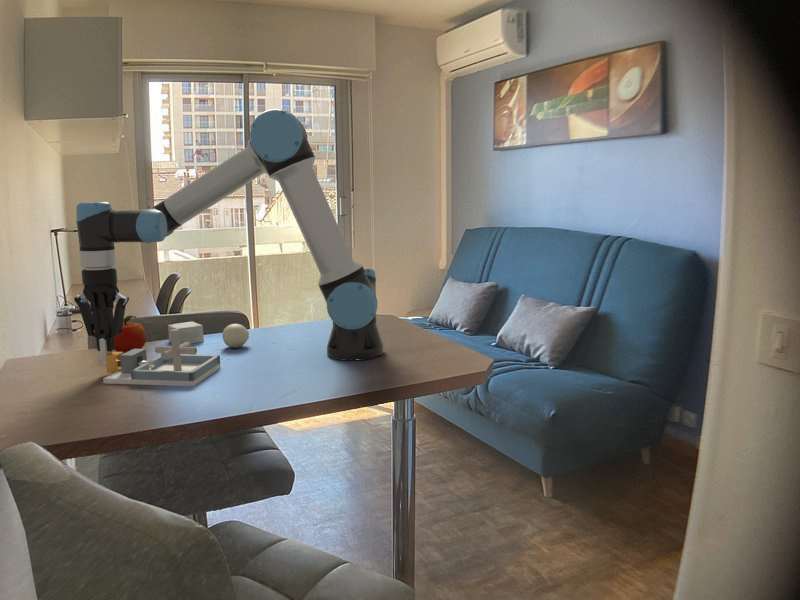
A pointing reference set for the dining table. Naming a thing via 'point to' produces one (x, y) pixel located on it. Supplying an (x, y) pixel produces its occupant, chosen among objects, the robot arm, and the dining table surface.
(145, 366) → the dock
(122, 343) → the fruit
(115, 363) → the lock pin
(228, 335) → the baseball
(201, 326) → the small box
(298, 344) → the dining table surface
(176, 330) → the pipe connector
